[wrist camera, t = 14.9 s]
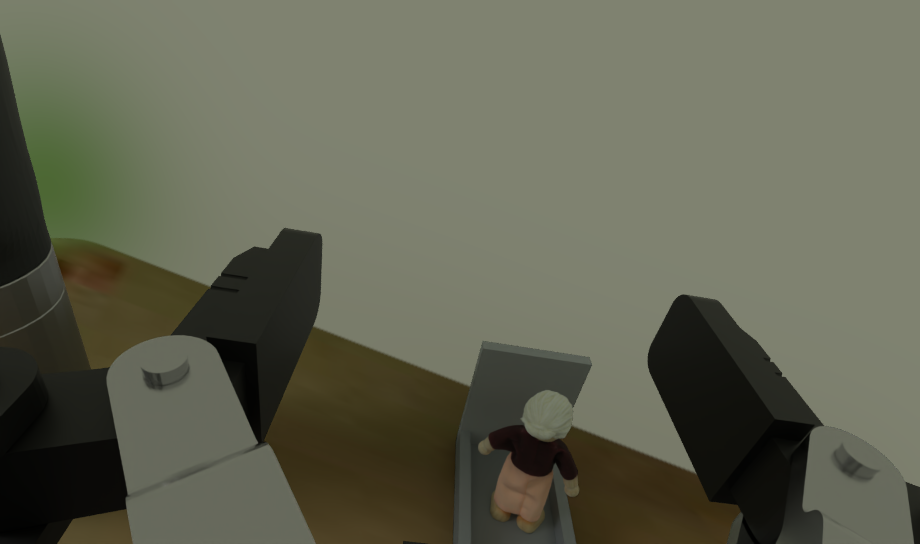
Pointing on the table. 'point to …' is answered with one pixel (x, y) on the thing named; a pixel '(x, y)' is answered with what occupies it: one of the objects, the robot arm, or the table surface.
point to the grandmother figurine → (532, 460)
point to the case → (491, 408)
